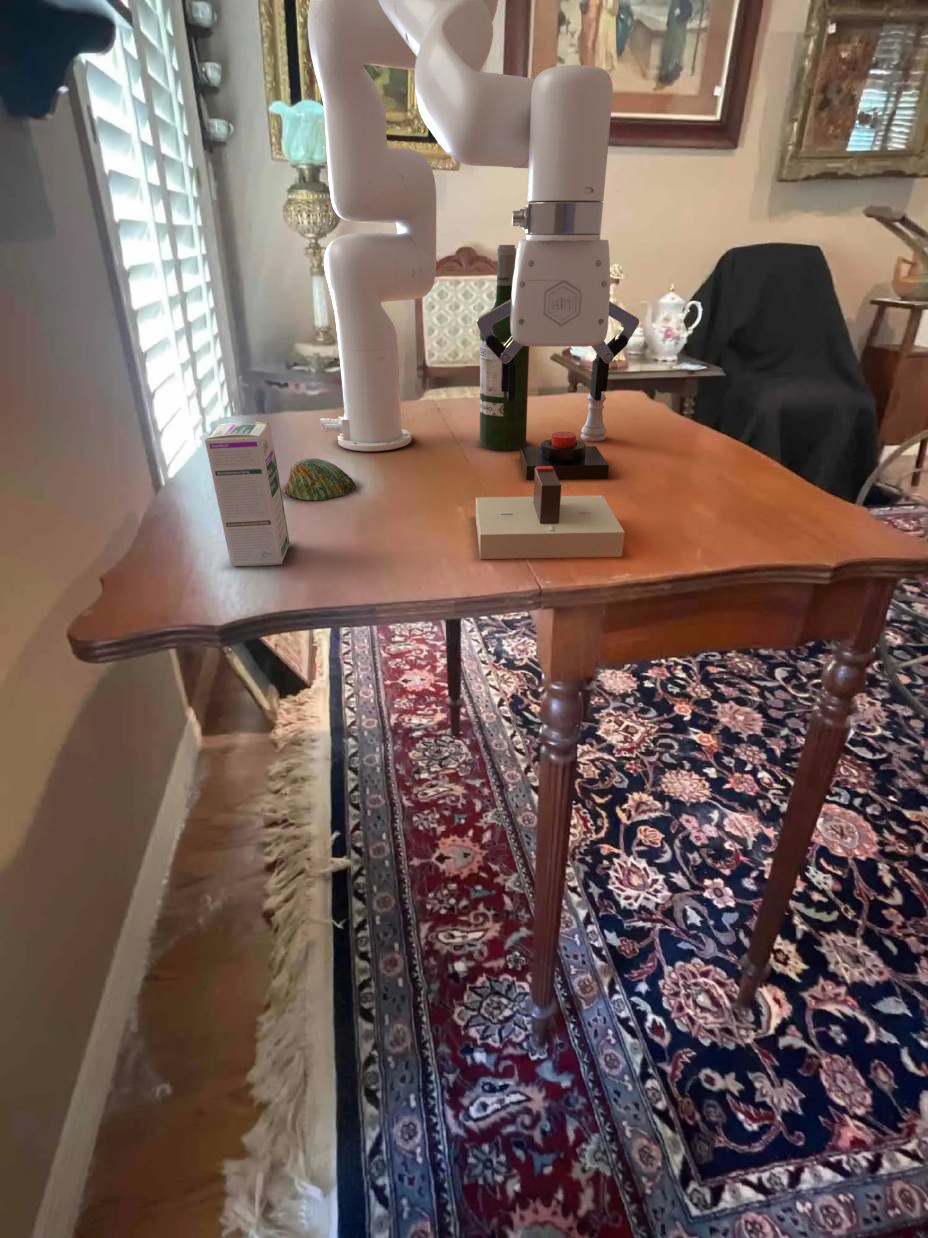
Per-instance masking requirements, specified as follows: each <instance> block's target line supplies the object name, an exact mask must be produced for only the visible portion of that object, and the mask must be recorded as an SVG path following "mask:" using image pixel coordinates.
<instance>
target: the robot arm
mask: <svg viewBox="0 0 928 1238" xmlns="http://www.w3.org/2000/svg"><path fill="white" fill-rule="evenodd" d="M498 4H499V0H309V3H308V12H307V39H308V47H309V52H310V56H311V61H312V66H313V70H314V74H315V77H316V80H317V84H318V87H319V91H320V96H321V100H322V104H323V113H324V129H325V130H324V131H325V145H326V159H327V173H328V187H329V194H330V201H331V205H332V208H333V210H334V212H335V213H336V215H337V216H338V217H339V218H340V219H342V220H344V221H347V222H349V223H350V222H351V223H363V224H364V223H365V224H396V230H397V231H396V232H355V233H347V234H343V235H340V236H338V237H336V238H334V239H333V240H331V242H330V243H329V244H328V246H327V247H326V249H325V252H324V256H323V257H324V258H323V262H324V265H323V266H324V272H325V273H324V274H325V277H326V282H327V286H328V289H329V293H330V297H331V301H332V307H333V311H334V318H335V327H336V334H337V335H336V336H337V345H338V354H339V365H340V375H341V387H342V398H343V409H344V410H343V411H344V413H343V416H338V417H337V418H320V419H319V426H320V427H319V428H320V430H321V431H324V432H325V433H334V432H335V433H336V432H337V433H339V435H338V436H337V443H338V445H339V446H340V447H341V448H344V449H346V450H350V451H357V452H383V451H384V452H385V451H391V450H396V449H400V448H402V447H406V446H407V445H409V444H410V443H411V442H412V433H411V432H410V431H408V430H407V429H404V428H403V426H402V425H403V424H402V407H401V406H402V405H401V388H400V385H401V384H400V367H399V365H400V364H399V349H398V347H399V346H398V335H397V330H396V326H395V325H394V323H393V321H392V320H391V317H390V316H389V315H388V314H387V312H386V311H385V309H384V307H383V306H382V303H386V302H393V301H394V302H397V301H408V300H409V301H410V300H418V299H422V298H424V297H426V296H427V295H428V294H430V292H431V291H432V288H433V287H434V283H435V280H436V271H437V186H436V179H435V175H434V172H433V169H432V166H431V164H430V162H429V160H428V159H427V158H426V157H425V155H423V154H422V153H421V152H419V151H417V150H415V149H411V148H401V147H400V148H399V147H389V145H388V137H387V113H386V105H385V103H384V100H383V98H382V95H381V94H380V91H379V89H378V87H377V85H376V83H375V82H374V80H373V78H372V77H371V74H370V73H369V72H368V71H367V69H366V68H365V65H366V66H367V65H368V66H376V67H382V68H383V67H384V68H391V69H401V70H408V71H414V87H415V90H414V91H415V98H416V103H417V108H418V112H419V115H420V116H421V119H422V121H423V122H424V124H425V126H426V128H427V129H428V130H429V131H430V133H431V134H432V136H433V137H434V138H435V140H436V142H437V143H438V144H439V146H440V147H441V148H442V149H443V151H444V152H446V154H447V155H449V156H450V157H451V158H453V159H454V160H456V161H457V162H458V163H461V164H463V165H468V166H471V167H473V166H474V167H499V168H501V167H502V168H513V169H527V193H526V204H525V206H524V207H523V208H520V209H519V210H512V211H511V212H512V213H511V226H512V227H519V228H522V230H524V233H525V239H519V241H518V244H517V248H516V255H515V268H514V274H513V283H512V293H511V299H510V300H509V301H507V302H505V303H503V304H501V305H500V306H498V307H496V308H494V309H493V310H491V309H490V310H491V311H490V310H489V311H487V312H485V313H484V314H482V315H480V316H478V317H477V319H476V324H477V327H478V329H479V332H480V331H481V334H482V336H483V338H484V340H485V342H486V344H487V346H488V347H489V348H490V349H491V350H492V352H493V353H494V354H495V355H496V356H497V357H498V358H499V359H500V360H501V362H502V365H501V392H506V396H507V399H508V401H513V400H515V373H516V364H515V362H514V356H515V355H516V354H517V352H518V351H519V350H520V349H521V348H522V346H523V345H524V346H529V347H537V348H538V347H542V348H543V347H547V348H548V347H551V348H552V347H554V348H555V347H556V348H557V347H591V348H592V349H593V350H594V353H596V355H595V358H594V360H592V363H591V364H592V366H591V377H590V386H589V387H590V388H589V394H590V395H591V396H592V398H593V399H594V400H595V401H601V394H602V391H604V392H607V389H608V383H609V382H608V379H609V371H610V364H611V363H612V362H613V361H614V359H615V357H617V356H618V354H619V353H621V352H622V351H623V349H625V348H626V347H627V346H628V344H629V341H630V339H631V338H632V336H633V335H634V334H635V331H636V330H637V328H638V327H639V324H640V320H639V318H638V317H637V316H635V315H634V314H632V313H630V312H628V311H627V310H625V309H623V308H622V307H620V306H618V305H616V304H615V303H614V302H612V301H611V300H610V296H611V294H610V293H611V291H610V290H611V258H610V245H609V244H610V243H609V240H608V239H601V236H602V235H601V232H602V221H603V211H604V209H603V208H604V200H605V199H604V198H605V186H606V177H607V176H606V174H607V164H608V153H609V140H610V130H611V117H612V107H613V106H612V105H613V94H614V93H613V91H614V89H613V87H614V86H613V81H612V78H611V76H610V75H611V74H610V73H609V72H608V71H607V70H605V69H603V67H599V66H594V65H588V64H587V65H586V64H567V65H566V64H565V65H559V66H554V67H549V68H546V69H544V70H542V71H540V72H539V73H538V74H537V75H536V76H535V78H533V77H525V76H520V75H511V74H503V73H497V72H496V73H495V72H485V71H481V69H482V68H483V66H484V65H485V63H486V61H487V59H488V57H489V55H490V52H491V49H492V44H493V39H494V26H493V22H494V19H495V17H496V13H497V9H498ZM527 202H528V203H527ZM509 315H510V332H511V335H512V336H511V337H510V338H509V340H508V341H507V342H506V343H505V345H503V344H502V343H501V342H500V341H499V340H498V338H497V337H496V336H495V334H494V332H493V330H492V326H493V325H494V324H495V323H497V322H498V321H500V320H502V319H504V318H506V317H507V316H509ZM609 317H610V318H612V319H614V320H615V321H616V322H619V323H620V328H619V330H618V332H617V334H616V335H615V336H614V337H613V338H611V340H610V341H608V342H607V343H606V341H605V340H606V338H607V335H608V328H609V319H610V318H609Z"/></svg>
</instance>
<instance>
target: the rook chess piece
mask: <svg viewBox="0 0 928 1238" xmlns="http://www.w3.org/2000/svg"><path fill="white" fill-rule="evenodd" d="M605 392H606V391H602V394H601V401H595V400H594V399H593V398H592V396H591V395H590V393H589V394H588V396H586V399H587V401H588V403H589V404H588V405H587V409H588V412H587V417H586V421H585V423H584V425H583V427H582V428H581V430H580V431H581V434H580V438H581V439H582V441H584V442H591V443H597V442H603V441H604V440H606V438H607V436H606V435H605V434H606V433H607V429H606V427H605V424H604V417H603V412H604V408H605V406H604V402H605V401H606V399H607V396H606V395H605Z"/></svg>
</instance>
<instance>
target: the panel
mask: <svg viewBox="0 0 928 1238" xmlns="http://www.w3.org/2000/svg"><path fill="white" fill-rule="evenodd" d="M533 499H534V496H480V497H479V496H478V497H475V523H476V524H475V525H476V533H477V542H478V551H479V552H478V553H479V559H480V560H500V559H501V560H502V559H503V560H505V559H506V560H508V559H514V560H515V559H561V558H566V559H567V558H568V559H569V558H570V559H571V558H614V557H616V558H618V557H623V550H624V540H625V530H624V529H623V527H622V525H621V523H620V522H619V520H618V519H617V516H616V515H615V513H614V512H613V510H612V508H611V507H610V505H609V503H608V501H607V500H606V498H605V497H604V495H601V494H600V495H598V494H597V495H561V500H560V516H559V523H540V522H539V519H538V516H537V513H536V510H535V507H534V504H533Z"/></svg>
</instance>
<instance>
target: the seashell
mask: <svg viewBox="0 0 928 1238" xmlns="http://www.w3.org/2000/svg"><path fill="white" fill-rule="evenodd" d="M355 483H356V482H354V480H353V479H352V478H351V476H350V475H348V474H347V473H346V472H345V471H344V470H342V468H340V467H339V466H338V465H336V464H334V463H332V462H330V461H327V460H324V459H320V458H306V459H305V458H304V459H302V460H301V459H300V460H298V461H295V462H294V463H293V464H292V465H291V467H290V471H289V476H288V480H287V482H286V484H285V485H284V487H283V492H284V494H286V495H288V497H292V498H293V499H299V500H302V501H303V500H306V501H323V500H324V501H325V500H328V499H335V498H338V497H339V498H340V497H341V496H345V495H346V494H349V493H350V492H352V490H354V489H355V488H356V484H355Z"/></svg>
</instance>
